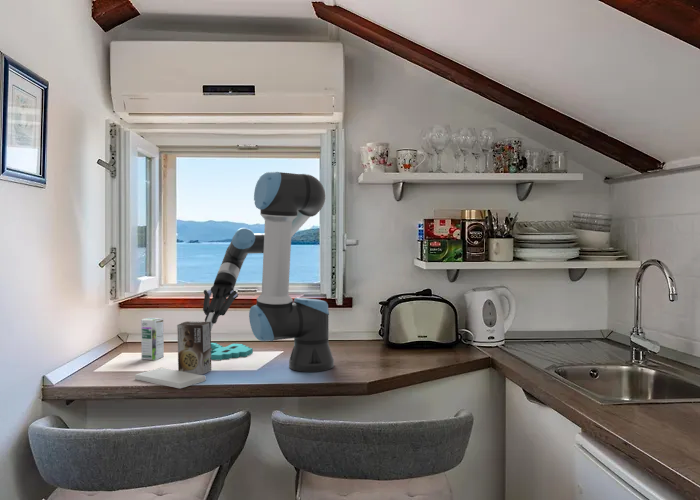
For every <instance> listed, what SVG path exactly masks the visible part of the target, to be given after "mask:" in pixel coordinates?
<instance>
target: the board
mask: <svg viewBox="0 0 700 500" xmlns="http://www.w3.org/2000/svg"><path fill="white" fill-rule="evenodd" d="M134 375H135V376H134V378H135V379H134V380H137V381H142V382H147V383H152V384H156V385H161V386H165V387H171V388H176V389H183V388H186V387H189V386H194V385H196V384H199V383H203V382H205V381H206V379H207V378H206V375H205V374H193V373H188V372H182V371H178V369H177V370H176V369H170V368H167V367H166V368H165V367H160V368H155V369H151V370H148V371H143V372H140V373H135V374H134Z"/></svg>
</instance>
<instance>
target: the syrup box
mask: <svg viewBox="0 0 700 500" xmlns="http://www.w3.org/2000/svg"><path fill="white" fill-rule="evenodd" d="M140 321H141V322H140V323H141V325H140V326H141V330H140V331H141V360H150V361H156V360H159V359H162V358H163V357H164V355H165V354H164V353H165V351H164V340H165V339H164V330H165V329H164V324H165V323H164V322H165V321H164V318H160V317H145V318H142V319H141V320H140Z"/></svg>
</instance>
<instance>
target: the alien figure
mask: <svg viewBox="0 0 700 500" xmlns="http://www.w3.org/2000/svg"><path fill="white" fill-rule="evenodd" d="M253 352H254V349H253V348H251V347H250V346H247V345H245V344H243V343H231V344H229V345H227V346H223V345H220V344H218V342H211V361H215V360H216V361H222V360H231V359H232V358H233V359H234V358H236V359H239V358H241V357H242V358H243V357H248V356H250V355H251V354H253Z"/></svg>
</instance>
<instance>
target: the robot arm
mask: <svg viewBox="0 0 700 500" xmlns="http://www.w3.org/2000/svg"><path fill="white" fill-rule="evenodd" d="M253 201H254V206H255V207H256V209H258V210H260V215H259V216H261V217H262V219H263V220H264V232H263V233H254V231H253V230H251V229H249V228H247V227H241V228H239V229H237V230H236V231H235V233H234V234H233V236H232V239H231V241H230V244H229V245H227V246H228V247H227V248H226V250H225V254H224V256H223V257H222V258H223V259H222V261H221V264H220V266H219V269H218V271H217V274H216V276H215V278H214V281H213V285H212V286H211V288H210V289H208V290H207V289H205V290H203V294H204V298H203V307H202V311H203V313H204V315H206V316H205V319H204V322H211V330H212V329H213V327H214V324H215V325H216V324H217V321H218V319H219V317H220V316H225V315H226V313H228V311H229V308H230V307H231V306H232V304H233V302H234V301H235V300H236V299H237V298H238V297H239V294H238V292H237V291H236V290H234V289H235V286H236V284H237V280H238V278H239V276H240V275H239V274H240V272H241V269H242V266H243V265H244V262H245V260H246V258H247V256H248V255H250V254H262V255H263V257H262V277H261V278H262V280H261V281H262V283H261V294H260V295H259V296H258V297H257V298H256V304H254V305H251V307H250V309H249V312H248V313H249V314H248V317H249V318H248V320H249V325H250V328H251V331H252V334H253V336H254V337H255V338H256V339H257V340H259V341H260V342H269V341H270V342H274V341H280V340H287V339H288V340H290V339H294V340H293V342H294V343H293V344H294V345H293V347H292V350H291V353H290V357H289V360H288V361H289V362H288V367H289V369H290V370H293V371H296V372H305V373H307V372H309V373H315V372H323V371H325V372H326V371H329V370H331V369H333V368H334V366H335V363H334V361H335V360H334V357H333V354H332V351H331V347H330V345H329V342H330V341H329V336H330V335H329V330H330V329H329V324H330V323H329V322H330V321H329V315H330V312H329V304H328V302H327V301H326V300H321V299H316V298H306V297H294V299H293V298H292V296H290V294H289V289H290V269H291V251H292V250H291V249H292V248H291V246H292V238H293V236H294V235H295V234H296V233H297V232H298V231H299V230H300V229H301V227H303V225H304V224H305V223H306V222H307V221H308V220H309V219H310V218H312V217H314V216H316V215H317V214H319V212H320V211H321V210H322V208H323V207H324V205H325V202H326V191H325V188H324V186H323V184H322V183H321V181H320V180H319V179H318V178H317V177H315V176H313V175H311V174H307V173H294V172H280V171H267V172H264V173H262V174H261V175H260V176H259V177H258V179H257V181H256V183H255V187H254V191H253ZM211 296H212V298H211Z"/></svg>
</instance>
